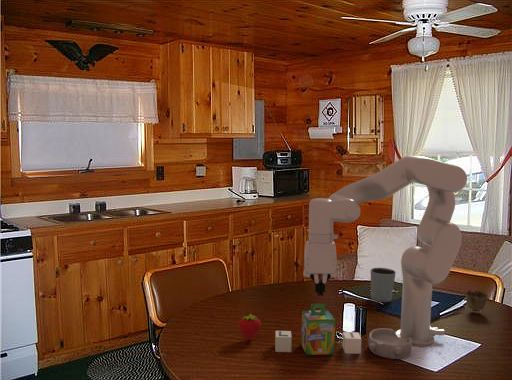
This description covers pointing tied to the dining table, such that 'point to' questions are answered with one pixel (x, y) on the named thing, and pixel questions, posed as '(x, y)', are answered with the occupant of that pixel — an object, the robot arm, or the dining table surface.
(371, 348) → the dish
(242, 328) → the strawberry
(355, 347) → the cream numeral block
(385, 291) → the grey cylinder
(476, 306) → the cup
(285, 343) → the white marked cube
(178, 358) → the dining table surface
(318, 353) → the chalk box
